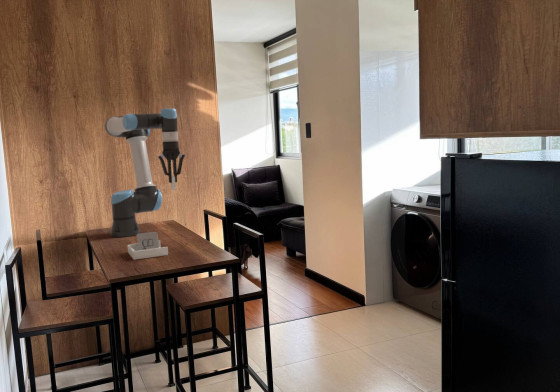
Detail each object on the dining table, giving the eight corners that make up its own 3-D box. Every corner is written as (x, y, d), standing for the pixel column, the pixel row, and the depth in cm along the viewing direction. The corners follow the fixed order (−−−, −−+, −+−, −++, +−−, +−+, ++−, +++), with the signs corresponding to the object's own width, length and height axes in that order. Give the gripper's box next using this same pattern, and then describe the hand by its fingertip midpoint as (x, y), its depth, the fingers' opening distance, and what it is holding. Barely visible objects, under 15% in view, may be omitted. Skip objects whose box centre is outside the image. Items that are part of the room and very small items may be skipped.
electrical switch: (138, 254, 239) (136, 234, 238) (137, 253, 244) (135, 233, 243) (159, 252, 242) (158, 232, 242) (157, 251, 247) (156, 231, 247)
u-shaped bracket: (127, 252, 245) (127, 244, 244) (160, 247, 251) (160, 240, 250) (133, 259, 230) (133, 251, 230) (168, 254, 236) (167, 247, 236)
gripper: (158, 141, 251) (161, 191, 254) (185, 140, 256) (188, 188, 259) (155, 141, 258) (158, 189, 261) (181, 139, 263) (184, 187, 266)
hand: (173, 189), depth 260 cm, fingers closed
